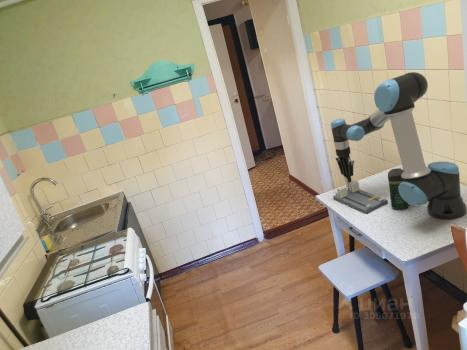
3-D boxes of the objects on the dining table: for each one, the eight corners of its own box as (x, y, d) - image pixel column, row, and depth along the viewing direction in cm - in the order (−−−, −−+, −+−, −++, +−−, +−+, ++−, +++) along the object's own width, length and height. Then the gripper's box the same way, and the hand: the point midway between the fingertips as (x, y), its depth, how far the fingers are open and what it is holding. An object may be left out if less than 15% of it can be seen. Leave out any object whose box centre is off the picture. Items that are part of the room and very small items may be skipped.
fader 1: (347, 195, 203) (346, 187, 201) (341, 198, 202) (340, 189, 200) (344, 193, 206) (342, 185, 204) (338, 196, 204) (336, 188, 203)
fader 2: (359, 189, 205) (358, 181, 203) (353, 192, 204) (352, 184, 202) (356, 188, 208) (354, 180, 206) (350, 191, 207) (348, 183, 205)
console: (388, 203, 189) (387, 197, 187) (366, 214, 185) (365, 208, 184) (353, 190, 212) (352, 185, 211) (333, 199, 208) (332, 194, 207)
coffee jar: (409, 209, 178) (405, 174, 172) (391, 210, 181) (386, 175, 175) (408, 200, 186) (404, 166, 180) (391, 201, 189) (387, 167, 183)
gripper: (356, 146, 197) (362, 187, 205) (340, 143, 209) (347, 181, 216) (344, 151, 195) (351, 192, 202) (329, 147, 207) (336, 186, 214)
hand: (349, 186), depth 209 cm, fingers closed
